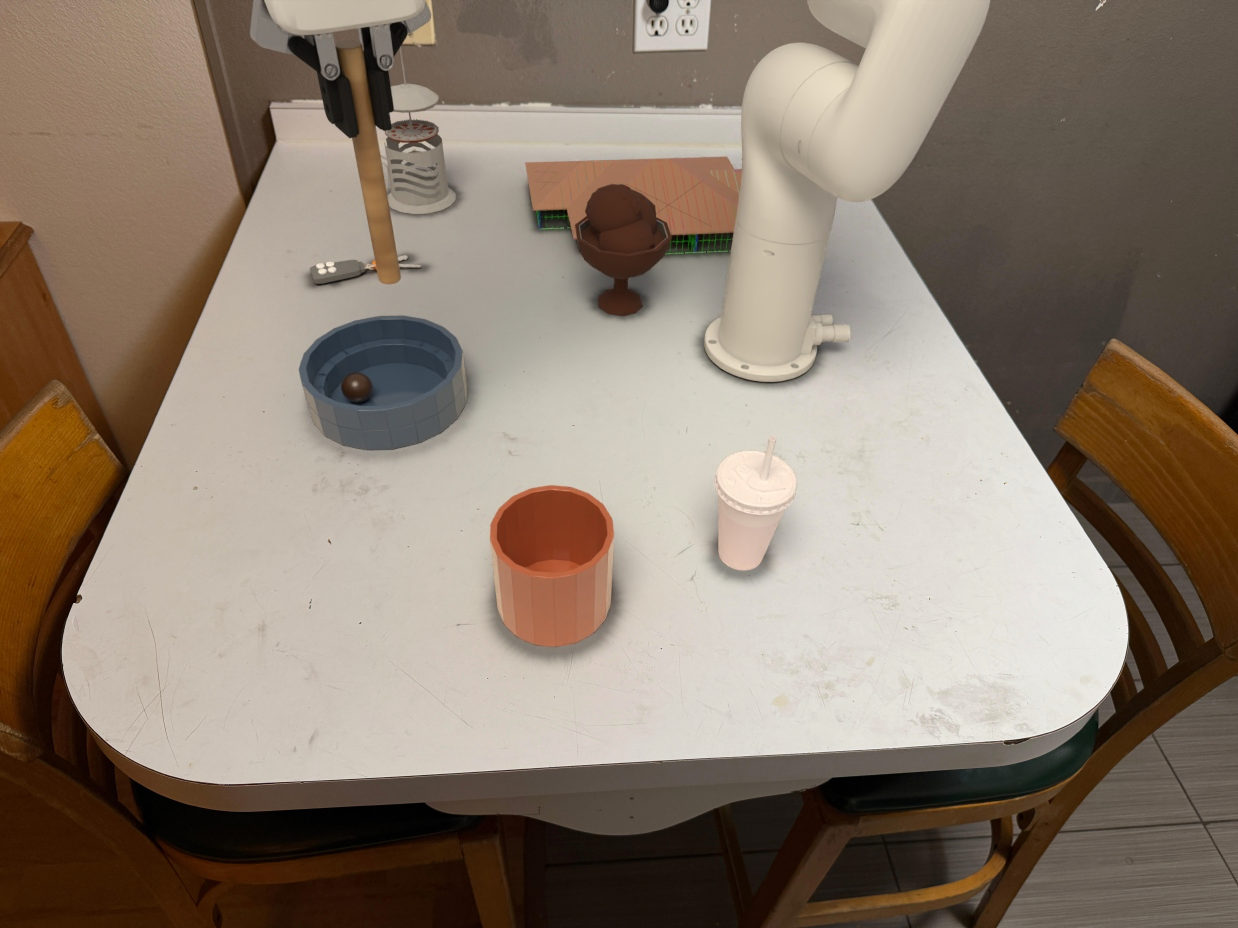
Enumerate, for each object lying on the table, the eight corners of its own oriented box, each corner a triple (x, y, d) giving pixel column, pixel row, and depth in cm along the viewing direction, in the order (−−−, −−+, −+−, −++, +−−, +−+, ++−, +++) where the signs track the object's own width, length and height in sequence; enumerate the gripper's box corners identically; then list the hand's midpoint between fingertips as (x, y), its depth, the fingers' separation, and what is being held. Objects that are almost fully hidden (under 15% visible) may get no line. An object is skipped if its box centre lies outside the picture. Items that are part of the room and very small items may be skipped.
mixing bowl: (470, 356, 89) (466, 314, 86) (463, 452, 78) (457, 408, 74) (326, 359, 88) (315, 316, 84) (298, 457, 77) (283, 412, 73)
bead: (376, 389, 84) (371, 366, 82) (373, 408, 82) (367, 384, 79) (347, 390, 83) (341, 366, 81) (342, 409, 81) (336, 385, 79)
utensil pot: (605, 557, 69) (608, 482, 63) (614, 648, 63) (618, 575, 57) (499, 561, 69) (492, 486, 62) (496, 654, 62) (488, 581, 56)
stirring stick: (402, 273, 68) (363, 40, 56) (400, 284, 67) (360, 49, 54) (380, 273, 68) (336, 40, 55) (377, 285, 67) (332, 48, 54)
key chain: (315, 288, 98) (312, 278, 97) (310, 273, 100) (307, 263, 99) (422, 269, 102) (420, 258, 101) (414, 255, 105) (413, 244, 104)
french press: (450, 215, 113) (427, 16, 95) (365, 212, 112) (327, 12, 95) (461, 184, 120) (441, -7, 102) (381, 181, 119) (348, -11, 102)
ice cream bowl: (658, 334, 94) (668, 212, 83) (564, 320, 95) (562, 199, 85) (672, 286, 101) (683, 169, 91) (585, 274, 103) (585, 157, 92)
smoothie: (757, 598, 67) (788, 477, 57) (689, 564, 69) (707, 443, 60) (788, 548, 71) (822, 427, 61) (723, 518, 73) (745, 397, 64)
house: (786, 252, 109) (797, 193, 103) (538, 263, 104) (536, 203, 99) (741, 177, 125) (749, 123, 119) (526, 184, 120) (523, 128, 115)
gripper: (176, -188, 40) (271, 171, 53) (461, -195, 47) (485, 124, 60) (138, -204, 45) (235, 132, 57) (405, -209, 52) (438, 92, 64)
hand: (362, 126), depth 59 cm, fingers closed on stirring stick, 1 cm apart
